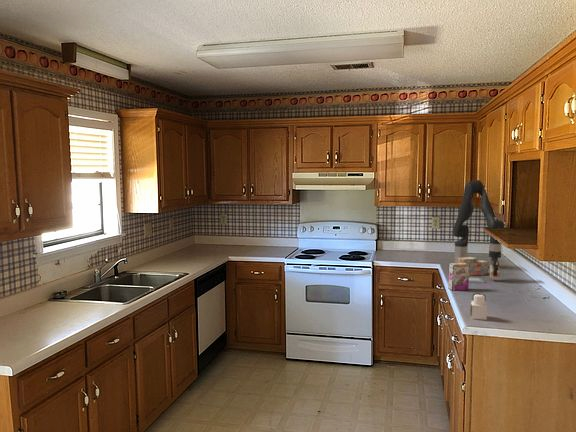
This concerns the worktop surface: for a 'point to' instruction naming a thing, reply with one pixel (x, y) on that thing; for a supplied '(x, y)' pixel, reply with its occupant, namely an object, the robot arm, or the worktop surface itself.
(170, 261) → the worktop surface
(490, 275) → the cream and brown block
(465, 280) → the candy bar box
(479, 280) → the base plate
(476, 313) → the medicine bottle
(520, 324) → the worktop surface
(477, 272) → the stack of blocks
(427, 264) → the worktop surface
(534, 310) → the worktop surface
